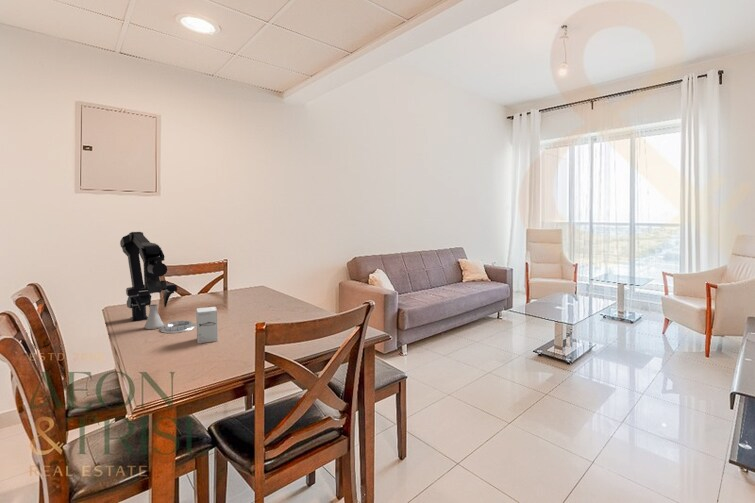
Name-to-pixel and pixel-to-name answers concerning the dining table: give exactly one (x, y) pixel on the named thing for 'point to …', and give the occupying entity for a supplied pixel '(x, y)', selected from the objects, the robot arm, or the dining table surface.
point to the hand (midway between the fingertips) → (153, 308)
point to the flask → (153, 318)
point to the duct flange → (178, 326)
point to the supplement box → (206, 324)
